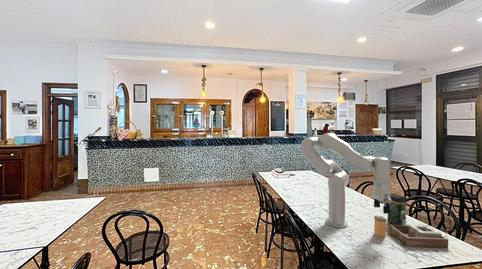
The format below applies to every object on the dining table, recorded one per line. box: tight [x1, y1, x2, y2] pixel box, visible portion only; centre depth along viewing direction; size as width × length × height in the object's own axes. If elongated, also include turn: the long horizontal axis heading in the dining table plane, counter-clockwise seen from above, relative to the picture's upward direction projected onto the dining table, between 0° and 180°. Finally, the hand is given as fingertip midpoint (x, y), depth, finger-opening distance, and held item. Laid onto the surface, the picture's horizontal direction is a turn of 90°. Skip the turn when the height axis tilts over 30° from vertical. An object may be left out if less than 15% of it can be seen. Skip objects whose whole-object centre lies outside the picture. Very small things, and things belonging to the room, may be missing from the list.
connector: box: [373, 215, 388, 238], centre depth 130 cm, size 4×4×10 cm
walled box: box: [388, 224, 449, 249], centre depth 125 cm, size 16×20×6 cm
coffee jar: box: [386, 192, 408, 225], centre depth 146 cm, size 10×8×19 cm
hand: (381, 210), depth 129 cm, fingers open, 9 cm apart
